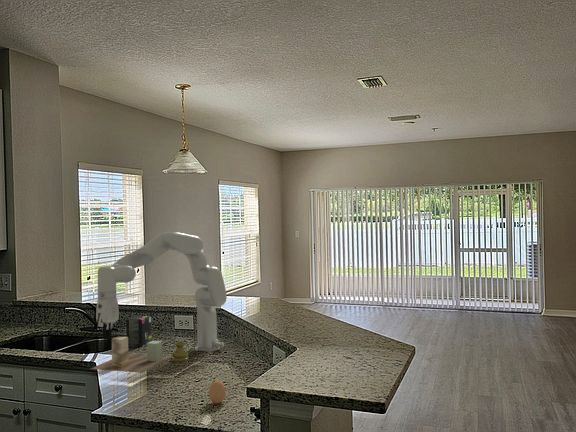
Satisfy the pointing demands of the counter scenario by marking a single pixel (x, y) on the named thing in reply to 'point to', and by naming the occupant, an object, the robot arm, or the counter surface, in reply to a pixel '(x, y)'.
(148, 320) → the tampon box
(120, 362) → the maple block
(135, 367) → the walnut board
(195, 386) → the counter surface
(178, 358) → the olive tiered piece
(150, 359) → the sage block
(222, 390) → the egg
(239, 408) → the counter surface
